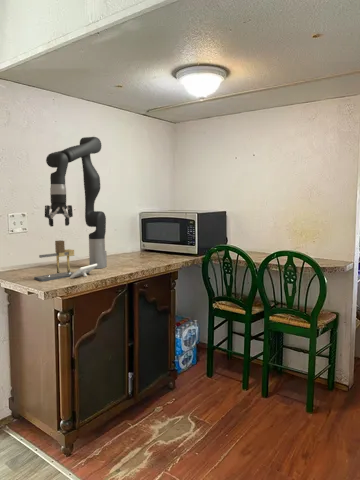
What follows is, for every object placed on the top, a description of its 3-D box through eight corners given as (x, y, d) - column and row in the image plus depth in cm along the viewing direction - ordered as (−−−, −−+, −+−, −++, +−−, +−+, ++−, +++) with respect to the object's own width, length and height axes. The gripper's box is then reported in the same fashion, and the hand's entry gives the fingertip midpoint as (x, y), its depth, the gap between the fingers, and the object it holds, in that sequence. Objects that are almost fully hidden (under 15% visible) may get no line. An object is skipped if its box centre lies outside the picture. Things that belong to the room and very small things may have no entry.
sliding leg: (60, 272, 193) (59, 240, 192) (65, 273, 190) (64, 240, 188) (54, 273, 191) (53, 240, 189) (60, 274, 188) (58, 241, 186)
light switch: (84, 274, 186) (100, 269, 200) (79, 266, 187) (96, 262, 200) (73, 283, 189) (90, 278, 203) (68, 275, 190) (86, 270, 203)
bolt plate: (69, 273, 201) (69, 270, 201) (77, 275, 196) (77, 272, 196) (34, 279, 186) (34, 276, 186) (42, 281, 181) (42, 278, 181)
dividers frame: (69, 271, 198) (68, 249, 197) (74, 272, 195) (74, 249, 194) (36, 276, 185) (35, 252, 184) (41, 278, 181) (40, 253, 180)
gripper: (66, 194, 194) (67, 225, 196) (41, 193, 183) (42, 226, 185) (74, 193, 189) (75, 225, 191) (49, 193, 179) (50, 227, 180)
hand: (59, 226), depth 188 cm, fingers open, 8 cm apart
